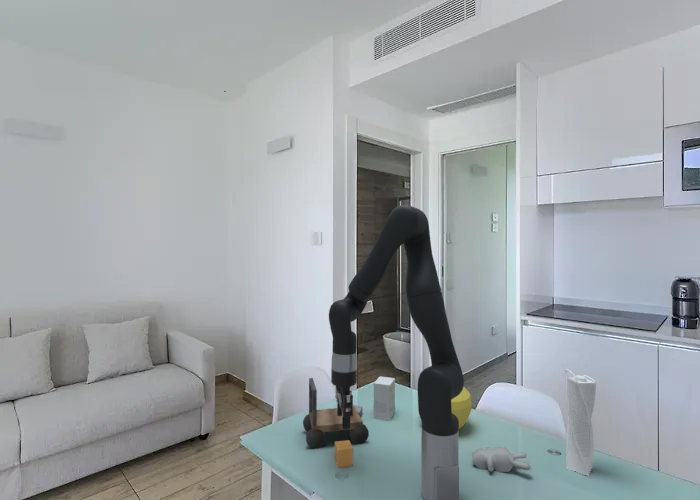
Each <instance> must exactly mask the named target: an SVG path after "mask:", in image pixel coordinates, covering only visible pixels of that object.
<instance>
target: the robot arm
mask: <svg viewBox="0 0 700 500" xmlns="http://www.w3.org/2000/svg"><path fill="white" fill-rule="evenodd" d="M430 231H431V230H430V224H429V219H428V218H427V215H426V214H425V213H424V211H422V210H421V209H420V208H417V207H414V206H411V205H408V204H401V205H398V206H395V208H393V209H392V211H391V212H390V214H388V217H387V218H386V220H385V223H384V224H383V227H382V229H381V231H380V232H379V233H380V234H379V235H378V237H377V239H376V241H375V243H374V245H373V247H372V249H371V251H369V254H368V256H367V257H366V259H365V260H364V262H363V263H362V265H361V266H360V268H359V270H358V271H357V272H356V274H355V275H354V277H353V278H352V280H350V282H349V285H348V292H347V294H346V295H345V297H344V298H343V299H339V300H335V301H334V302H333V303H332V304H331V305H330V308H329V310H328V321H329V327H330V332H331V335H332V353H331V354H332V355H331V369H330V370H331V371H330V372H331V375H330V376H331V377H330V379H331V381H330V382H331V384H332V385H333V386H335V399H336V400H335V401H336V406H337V407H336V408H337V415H338V416H342V428H343V429H348V430H350V417H352V416H353V405H354V402H353V399H354V395H353V393H352V392H353V391H352V390H351V388H352V387H354V386H355V385H356V384H357V383H358V355H357V352H358V351H357V349H358V348H357V344H358V342H357V335H356V333H355V331H352V330H353V329H352V322H355V321H356V320H357V319H358V318H359V317H360V316H361V315H362V313H363V311H364V310H365V308H366V306H367V303H368V301H369V299H370V298H371V296H373V294H374V292H375V291H376V290H377V288H378V287H379V285H380V284H381V283H382V281H383V280H384V277H385V274H386V273H387V270H388V267H389V266H390V265H389V264H390V262H391V260H392V258H393V257H394V255H395V253H396V252H397V250H399V248H400V247H402V245H403V247H404V250H405V254H406V262H407V265H406V266H407V268H406V269H407V270H406V280H405V294H406V300H407V303H408V304H407V305H408V309H409V313H410V317H411V319H412V321H413V323H414V324H415V326H416V327H417V329H418V331H419V332H420V333H421V335H422V337H423V338H424V341H425V342H426V344H427V347H428V348H427V349H428V351H429V356H430V362H431V366H427V367H426V368H424V369H422V371H421V372H420V373H419V376H418V379H417V408H418V409H417V410H418V415H419V418H420V422H421V436H420V437H421V438H420V439H421V442H420V443H421V444H420V445H421V446H420V447H421V452H420V453H421V459H420V462H421V465H420V474H421V475H420V476H421V478H420V480H421V481H420V487H421V488H420V492H421V493H420V494H421V497H422V498H423V499H424V500H460V466H459V450H460V448H459V443H460V441H459V440H460V439H459V438H460V437H459V436H460V435H459V434H460V429H459V421H458V418H457V417H456V416H455V415H454V414H452V409H451V400H452V399H453V398H455V397H456V396H458V395H459V394H460V393H461V392H462V390H463V387H465V386H464V385H465V379H464V378H465V377H464V374H463V370H462V367H461V364H460V361H459V358H458V355H457V351H456V349H455V346H454V343H453V339H452V335H451V329H450V325H449V321H448V316H447V313H446V312H447V311H446V306H445V305H446V304H445V301H444V297H443V291H442V288H441V284H440V279H439V276H438V271H437V269H436V264H435V263H436V262H435V260H434V256H433V251H432V243H431V235H430ZM347 408H348V409H349V412H346V409H347Z"/></svg>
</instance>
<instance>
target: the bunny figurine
mask: <svg viewBox="0 0 700 500" xmlns="http://www.w3.org/2000/svg"><path fill="white" fill-rule="evenodd" d="M519 459H527V453H526V452H524V451H519V452H515V453H512V452H510V450H508V449H507V447H503V446H494V447H493V448H491V447H489V446H488V447H485V448H478V449H476V450H475V451H473V452H471V461H472V465H475V467H477V468H478V469H480V470H488V472H491V473H492V472H493V471H494V470H495V471H496V472H500V473H510V471H511V470H512V468H513V467H516V468H519V469H521V470H523V471H529V470H530V469H531V465H530V463H529V462H527V461H522V460H519Z"/></svg>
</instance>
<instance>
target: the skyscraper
mask: <svg viewBox="0 0 700 500" xmlns="http://www.w3.org/2000/svg"><path fill="white" fill-rule="evenodd" d="M567 372H569V373H570V374H571V375H572V376H568V373H567ZM564 374H565V397H566V398H565V399H566V402H565V403H566V411H567V417H568V419H567V424H566V425H567V426H566V427H567V428H566V445H565V447H566V449H565V450H566V451H565V452H566V453H565V456H566V460H565V461H566V470H567V469H569V470H568V471H571V470H573V471H572V472H574V471H576V472H575V473H577V472H578V473H577V474H579V473H581V474H580V475H582V474H583V476H585V475H587V476H588V477H587V476H586V477H587V478H589V477H590V474H591V472H590V471H592V470H593V469H594V455H595V454H594V453H595V452H594V451H595V449H594V447H595V445H594V444H595V443H594V440H595V439H594V430H593V424H592V420H591V419H592V416H593V412H594V407H595V400H596V390H597V389H596V388H597V382H596V380H595V379H594V378H592V377H591V376H588V375H587V374H583V375H579V374H578V375H575V374H574V372H572V371H571V370H570V369H569V368H565V369H564ZM591 469H592V470H591ZM589 473H590V474H589Z"/></svg>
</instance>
